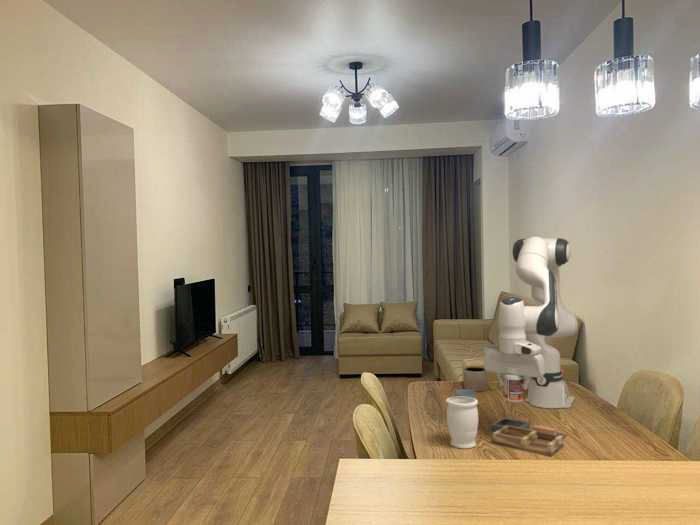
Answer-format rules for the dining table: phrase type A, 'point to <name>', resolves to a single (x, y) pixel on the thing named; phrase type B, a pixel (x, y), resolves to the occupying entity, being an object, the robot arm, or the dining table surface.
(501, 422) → the socket collar
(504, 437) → the rack
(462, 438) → the jar
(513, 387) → the pill bottle
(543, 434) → the grey metal lipped plate
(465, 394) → the cup
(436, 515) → the dining table surface
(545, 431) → the pink rectangular block
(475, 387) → the planter
